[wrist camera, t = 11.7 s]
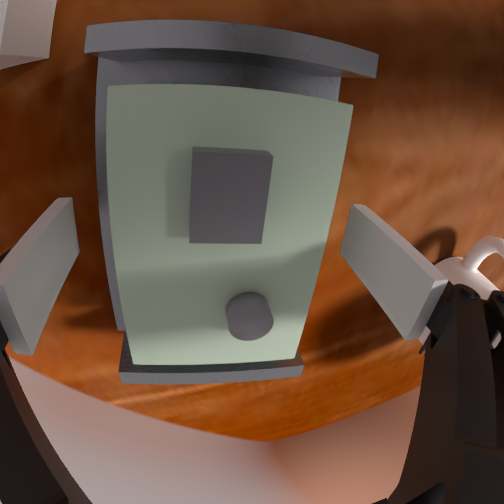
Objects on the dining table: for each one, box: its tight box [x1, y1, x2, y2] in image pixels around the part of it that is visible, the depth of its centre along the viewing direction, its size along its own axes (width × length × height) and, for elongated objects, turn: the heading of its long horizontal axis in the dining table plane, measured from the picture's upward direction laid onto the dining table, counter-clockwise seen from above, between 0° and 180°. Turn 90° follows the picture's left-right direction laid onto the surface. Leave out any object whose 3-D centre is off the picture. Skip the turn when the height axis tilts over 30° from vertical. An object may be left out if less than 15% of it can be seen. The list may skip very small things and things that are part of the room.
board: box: [106, 84, 354, 365], centre depth 12 cm, size 12×8×3 cm, turn 174°
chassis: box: [84, 20, 379, 384], centre depth 14 cm, size 18×12×6 cm, turn 174°
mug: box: [418, 236, 504, 349], centre depth 20 cm, size 8×10×12 cm
